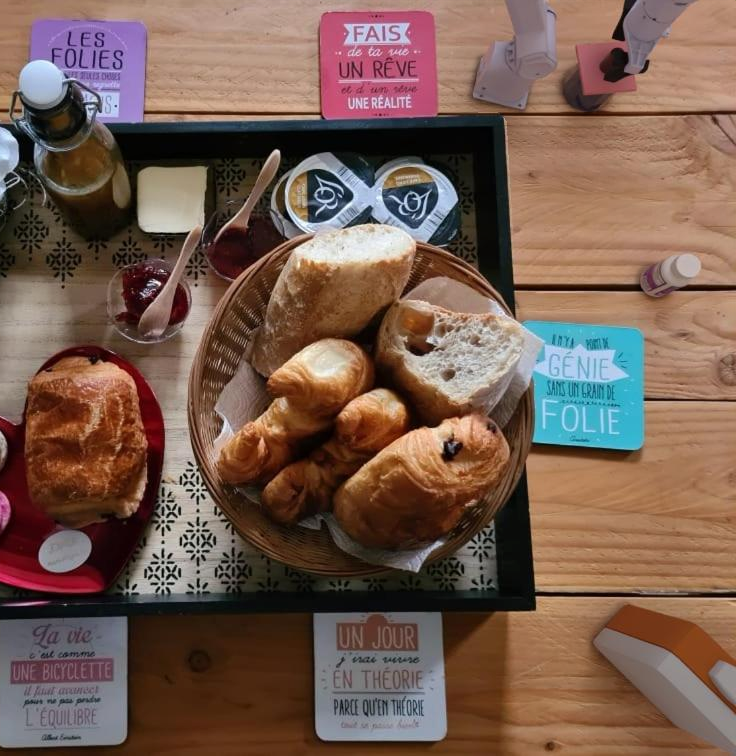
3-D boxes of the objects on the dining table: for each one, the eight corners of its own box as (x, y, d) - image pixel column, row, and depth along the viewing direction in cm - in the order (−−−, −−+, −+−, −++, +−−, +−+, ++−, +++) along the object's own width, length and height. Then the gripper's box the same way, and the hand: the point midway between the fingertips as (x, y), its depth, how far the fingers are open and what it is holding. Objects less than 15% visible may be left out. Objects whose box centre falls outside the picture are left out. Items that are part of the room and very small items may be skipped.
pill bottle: (673, 275, 126) (710, 257, 116) (663, 302, 125) (699, 287, 115) (644, 262, 126) (679, 243, 117) (633, 289, 125) (667, 273, 116)
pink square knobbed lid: (583, 95, 124) (595, 81, 119) (574, 46, 125) (586, 31, 121) (635, 91, 124) (649, 77, 120) (626, 42, 125) (640, 27, 121)
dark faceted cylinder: (558, 105, 130) (575, 85, 124) (567, 63, 131) (585, 41, 125) (604, 116, 130) (624, 97, 124) (613, 74, 131) (633, 53, 125)
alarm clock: (710, 685, 116) (815, 727, 95) (675, 727, 115) (773, 778, 94) (622, 600, 118) (706, 623, 97) (587, 640, 117) (664, 672, 96)
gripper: (680, 56, 107) (629, 104, 120) (696, -31, 109) (644, 26, 122) (633, 44, 107) (587, 93, 120) (650, -42, 109) (603, 16, 123)
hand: (613, 59), depth 121 cm, fingers open, 7 cm apart
